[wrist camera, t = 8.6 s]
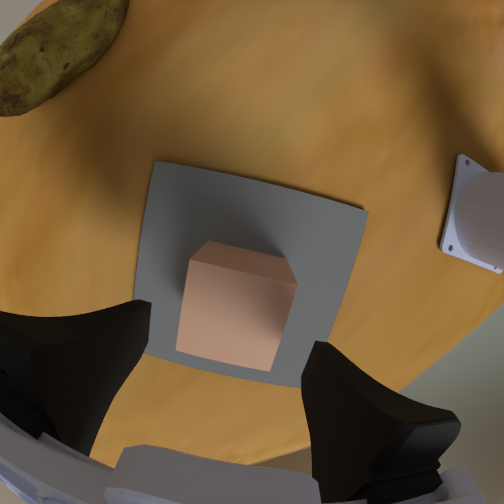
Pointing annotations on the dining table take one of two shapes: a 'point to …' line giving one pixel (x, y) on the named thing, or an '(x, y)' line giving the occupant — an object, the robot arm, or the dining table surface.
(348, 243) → the mat
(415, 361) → the dining table surface
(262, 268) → the cube
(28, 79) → the potato
